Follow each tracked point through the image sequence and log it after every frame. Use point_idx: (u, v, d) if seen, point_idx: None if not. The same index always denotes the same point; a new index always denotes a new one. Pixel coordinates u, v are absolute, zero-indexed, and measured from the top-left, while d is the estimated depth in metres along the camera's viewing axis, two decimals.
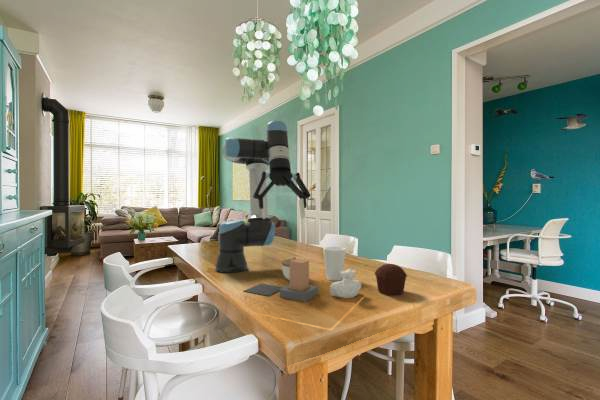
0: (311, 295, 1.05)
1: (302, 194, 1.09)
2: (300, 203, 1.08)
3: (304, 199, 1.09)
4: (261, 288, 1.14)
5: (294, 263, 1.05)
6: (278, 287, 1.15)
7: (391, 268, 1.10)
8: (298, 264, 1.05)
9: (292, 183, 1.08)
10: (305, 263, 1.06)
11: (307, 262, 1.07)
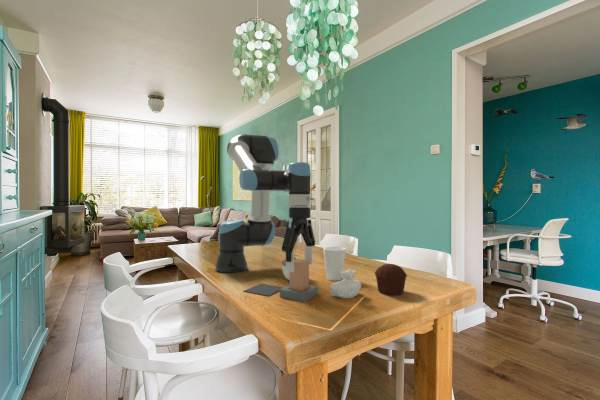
0: (311, 295, 1.05)
1: (311, 242, 1.13)
2: (307, 250, 1.13)
3: None
4: (261, 288, 1.14)
5: (294, 263, 1.05)
6: (278, 287, 1.15)
7: (391, 268, 1.10)
8: (298, 264, 1.05)
9: (308, 232, 1.10)
10: (305, 263, 1.06)
11: (307, 262, 1.07)
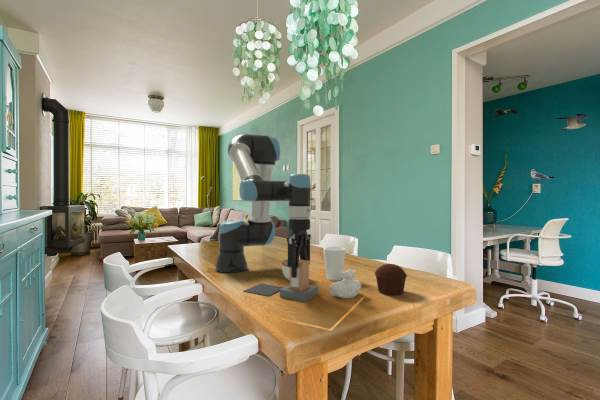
0: (311, 295, 1.05)
1: (307, 259, 1.10)
2: None
3: None
4: (261, 288, 1.14)
5: None
6: (278, 287, 1.15)
7: (391, 268, 1.10)
8: (298, 264, 1.05)
9: (306, 246, 1.09)
10: (305, 263, 1.06)
11: (307, 262, 1.07)
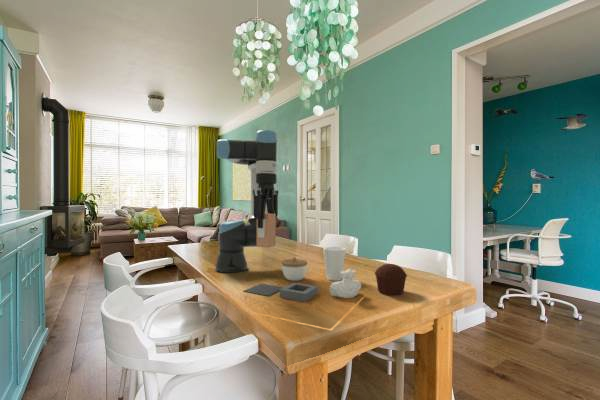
0: (311, 295, 1.05)
1: (274, 213, 1.16)
2: None
3: None
4: (261, 288, 1.14)
5: None
6: (278, 287, 1.15)
7: (391, 268, 1.10)
8: (264, 216, 1.10)
9: (272, 200, 1.14)
10: (271, 215, 1.12)
11: (273, 215, 1.13)
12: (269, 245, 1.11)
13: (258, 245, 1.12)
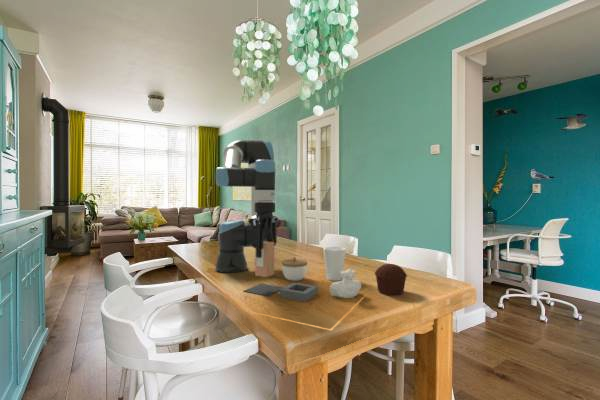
0: (311, 295, 1.05)
1: (272, 241, 1.15)
2: None
3: None
4: (261, 288, 1.14)
5: None
6: (278, 287, 1.15)
7: (391, 268, 1.10)
8: (263, 245, 1.10)
9: (271, 228, 1.14)
10: (270, 244, 1.12)
11: (272, 243, 1.13)
12: (268, 274, 1.10)
13: (257, 274, 1.12)
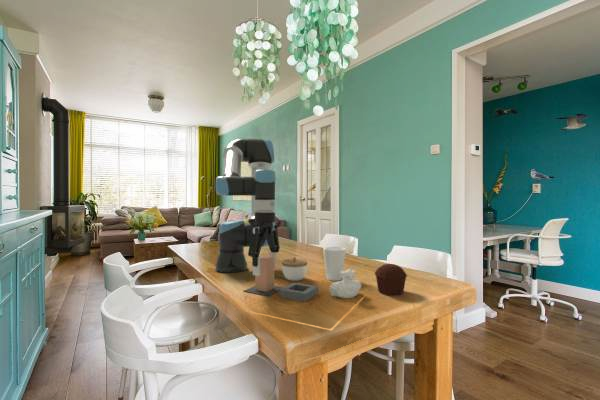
0: (311, 295, 1.05)
1: (275, 248, 1.17)
2: None
3: (275, 252, 1.18)
4: None
5: None
6: (278, 287, 1.15)
7: (391, 268, 1.10)
8: (263, 259, 1.10)
9: (272, 237, 1.15)
10: (270, 258, 1.12)
11: (272, 258, 1.13)
12: (268, 289, 1.11)
13: (257, 288, 1.12)
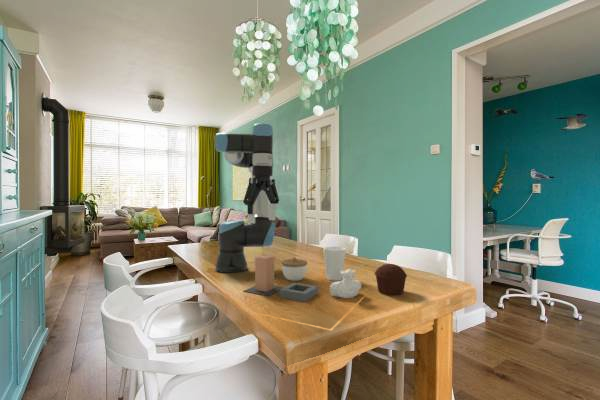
0: (311, 295, 1.05)
1: (275, 200, 1.22)
2: (271, 207, 1.22)
3: None
4: None
5: (259, 259, 1.11)
6: (278, 287, 1.15)
7: (391, 268, 1.10)
8: (263, 259, 1.10)
9: (271, 190, 1.19)
10: (270, 258, 1.12)
11: (272, 258, 1.13)
12: (268, 289, 1.11)
13: (257, 288, 1.12)
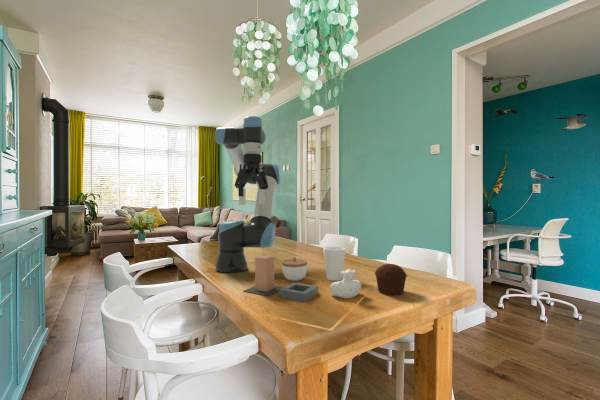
0: (311, 295, 1.05)
1: (264, 185, 1.35)
2: (261, 192, 1.35)
3: (264, 189, 1.36)
4: None
5: (259, 259, 1.11)
6: (278, 287, 1.15)
7: (391, 268, 1.10)
8: (263, 259, 1.10)
9: (260, 176, 1.32)
10: (270, 258, 1.12)
11: (272, 258, 1.13)
12: (268, 289, 1.11)
13: (257, 288, 1.12)
